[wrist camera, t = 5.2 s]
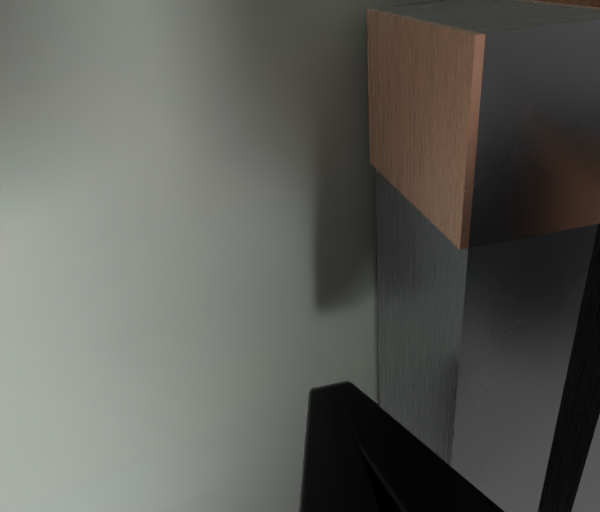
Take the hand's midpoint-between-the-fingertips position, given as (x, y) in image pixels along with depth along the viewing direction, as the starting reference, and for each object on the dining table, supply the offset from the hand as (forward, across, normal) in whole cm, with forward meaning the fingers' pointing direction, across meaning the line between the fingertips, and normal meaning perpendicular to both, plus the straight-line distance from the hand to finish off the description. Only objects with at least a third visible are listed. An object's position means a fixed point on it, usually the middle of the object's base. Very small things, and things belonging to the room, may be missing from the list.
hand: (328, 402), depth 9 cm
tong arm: (+1, -2, 0) cm, 2 cm away
